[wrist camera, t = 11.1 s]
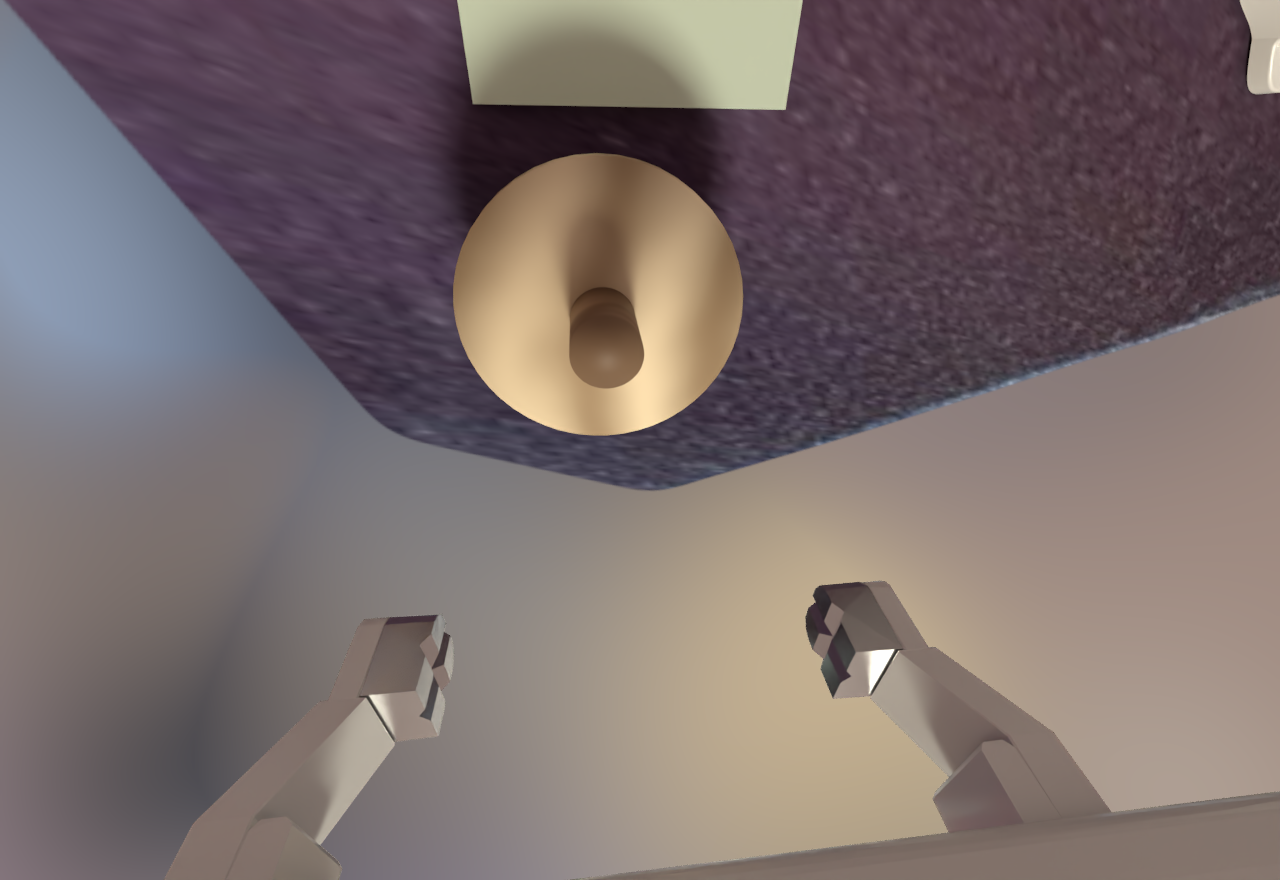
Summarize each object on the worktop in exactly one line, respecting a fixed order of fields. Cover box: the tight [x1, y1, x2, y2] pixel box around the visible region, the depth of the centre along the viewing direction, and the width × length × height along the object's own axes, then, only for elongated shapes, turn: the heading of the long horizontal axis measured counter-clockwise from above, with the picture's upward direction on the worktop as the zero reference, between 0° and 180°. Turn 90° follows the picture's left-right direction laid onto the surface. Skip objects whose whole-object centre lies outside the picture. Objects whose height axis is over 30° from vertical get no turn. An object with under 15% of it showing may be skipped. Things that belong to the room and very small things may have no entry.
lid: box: [453, 153, 743, 435], centre depth 23 cm, size 14×14×5 cm
